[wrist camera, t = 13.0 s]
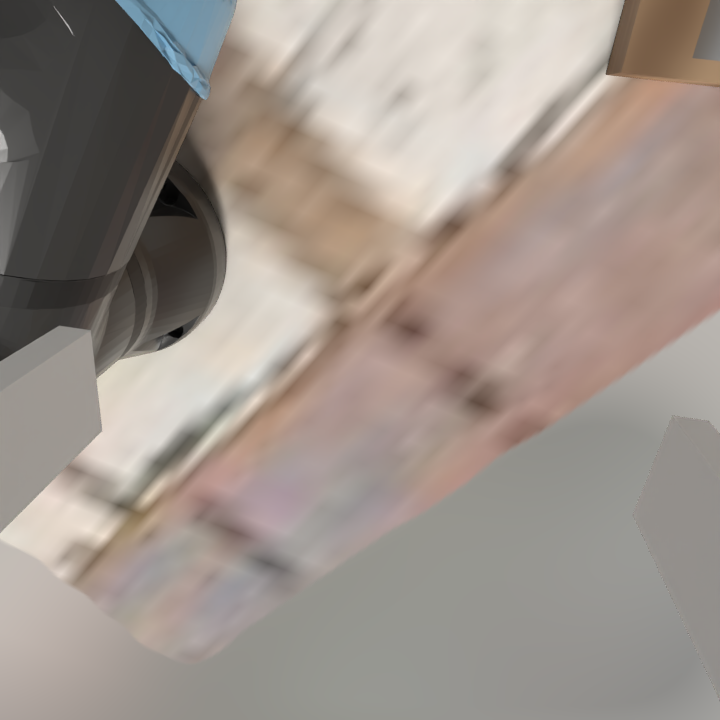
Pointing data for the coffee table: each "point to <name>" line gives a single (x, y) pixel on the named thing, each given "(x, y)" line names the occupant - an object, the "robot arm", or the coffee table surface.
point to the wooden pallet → (668, 41)
